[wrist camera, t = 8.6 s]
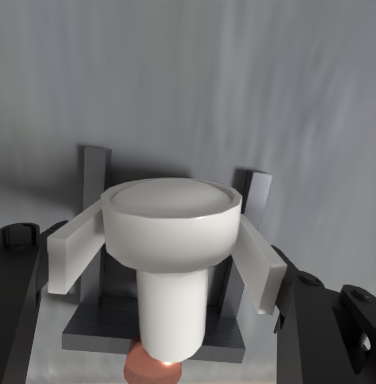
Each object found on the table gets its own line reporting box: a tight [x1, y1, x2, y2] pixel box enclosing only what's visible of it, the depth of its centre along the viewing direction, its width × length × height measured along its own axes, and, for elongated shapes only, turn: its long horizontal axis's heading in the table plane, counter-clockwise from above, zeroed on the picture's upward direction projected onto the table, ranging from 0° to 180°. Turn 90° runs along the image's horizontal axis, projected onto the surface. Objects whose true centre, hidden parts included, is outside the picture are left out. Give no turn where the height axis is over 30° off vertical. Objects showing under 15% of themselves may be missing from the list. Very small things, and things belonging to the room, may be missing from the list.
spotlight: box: [100, 178, 242, 363], centre depth 14 cm, size 8×11×8 cm
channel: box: [62, 147, 273, 384], centre depth 15 cm, size 16×14×6 cm
